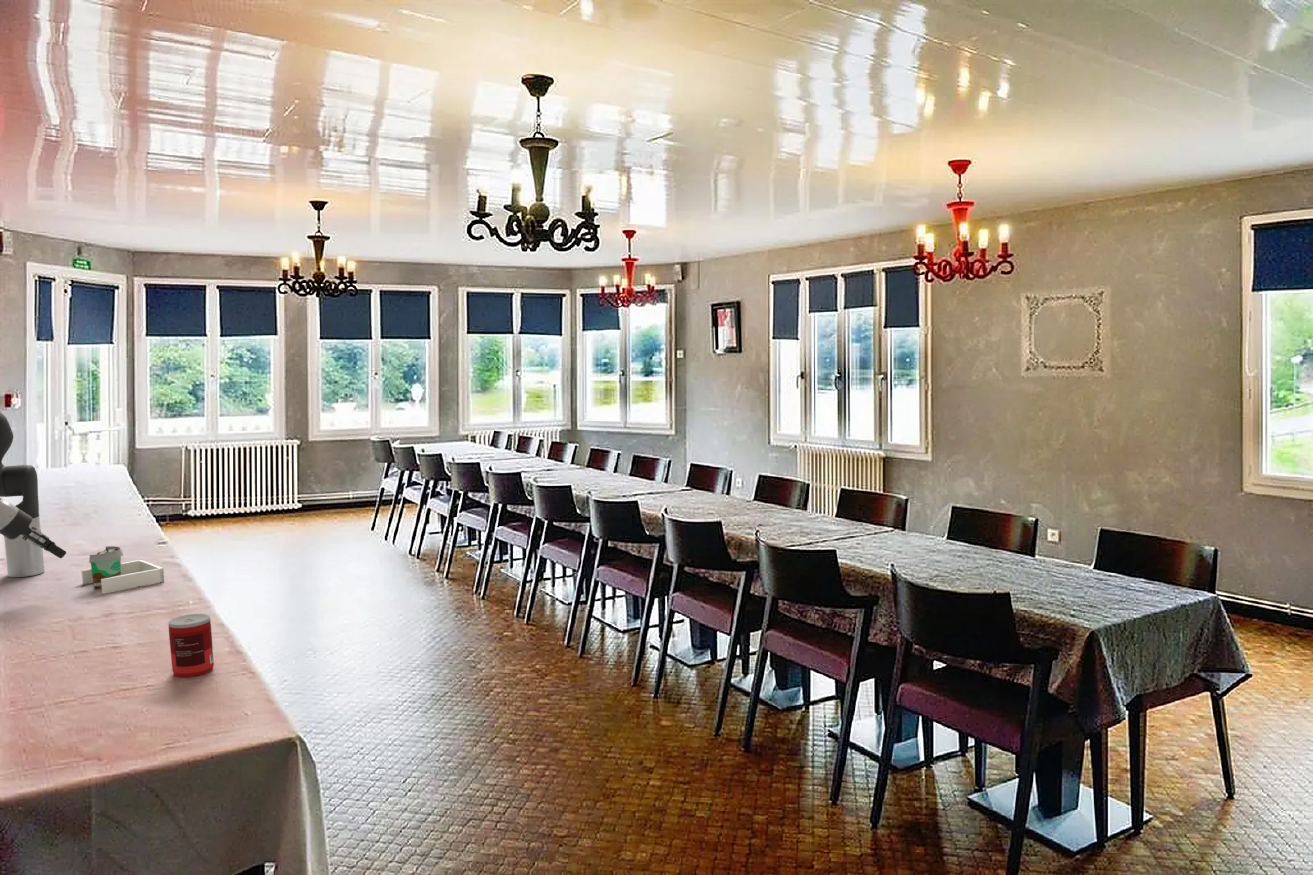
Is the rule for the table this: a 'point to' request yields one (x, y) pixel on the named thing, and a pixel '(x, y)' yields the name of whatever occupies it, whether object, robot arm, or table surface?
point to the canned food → (191, 645)
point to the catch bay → (128, 576)
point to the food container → (106, 564)
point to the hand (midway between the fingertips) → (63, 555)
